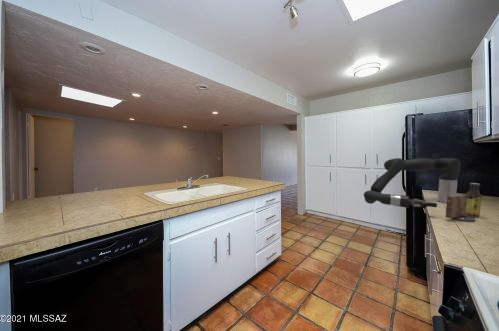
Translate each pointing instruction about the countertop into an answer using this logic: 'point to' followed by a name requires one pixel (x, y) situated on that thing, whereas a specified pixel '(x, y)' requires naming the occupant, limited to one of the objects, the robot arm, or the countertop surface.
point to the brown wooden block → (456, 206)
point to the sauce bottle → (473, 200)
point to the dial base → (465, 219)
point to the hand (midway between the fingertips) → (436, 205)
